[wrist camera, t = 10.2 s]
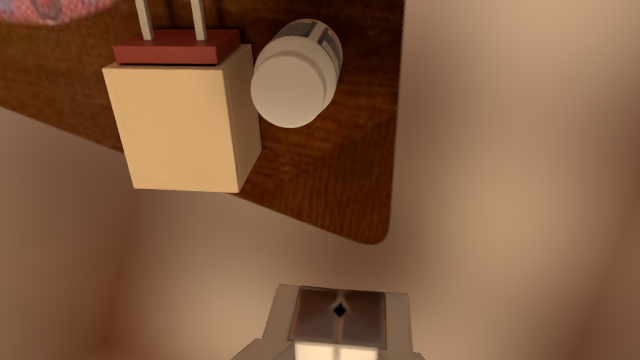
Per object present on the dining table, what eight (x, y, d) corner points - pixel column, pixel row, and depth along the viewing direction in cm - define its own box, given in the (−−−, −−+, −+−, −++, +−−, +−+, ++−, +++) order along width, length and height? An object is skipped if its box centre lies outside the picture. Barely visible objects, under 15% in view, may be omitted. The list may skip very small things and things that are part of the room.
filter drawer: (136, -36, 33) (92, -30, 28) (232, -38, 32) (204, -32, 27) (170, 127, 40) (139, 156, 35) (250, 129, 39) (230, 159, 34)
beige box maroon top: (151, 43, 37) (101, 68, 30) (251, 43, 36) (222, 69, 29) (172, 147, 42) (133, 188, 35) (261, 150, 41) (238, 193, 34)
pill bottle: (267, 76, 37) (233, 120, 29) (283, 6, 34) (251, 33, 26) (332, 97, 37) (317, 147, 29) (353, 30, 34) (344, 64, 26)
